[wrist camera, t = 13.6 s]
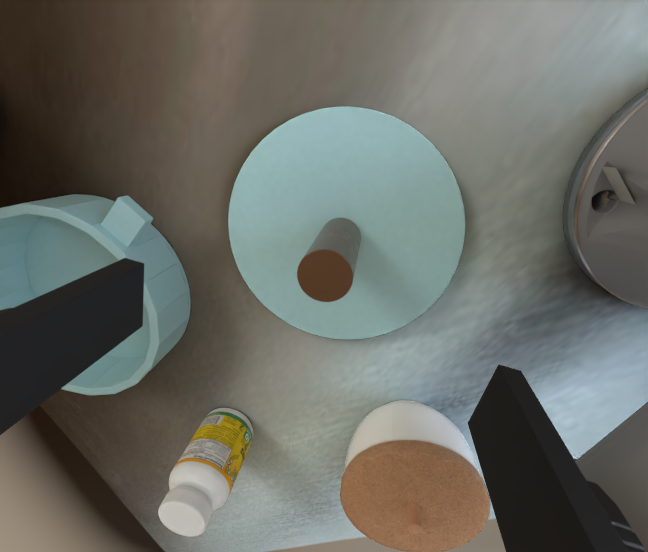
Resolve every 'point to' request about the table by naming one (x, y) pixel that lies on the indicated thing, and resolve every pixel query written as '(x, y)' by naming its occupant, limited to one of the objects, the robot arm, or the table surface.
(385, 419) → the trinket box
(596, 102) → the table surface
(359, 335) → the pan lid
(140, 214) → the pan
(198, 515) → the supplement bottle
